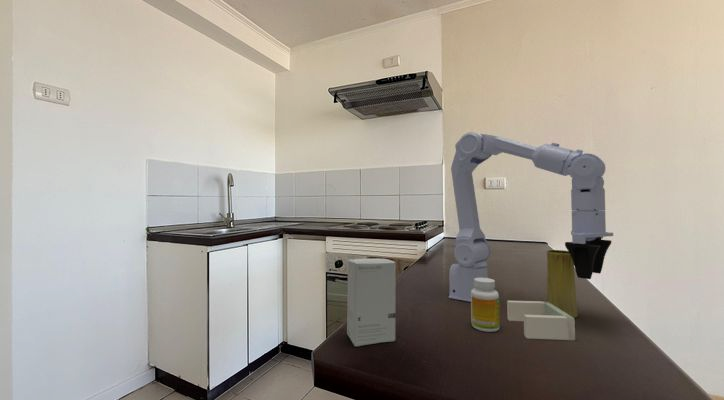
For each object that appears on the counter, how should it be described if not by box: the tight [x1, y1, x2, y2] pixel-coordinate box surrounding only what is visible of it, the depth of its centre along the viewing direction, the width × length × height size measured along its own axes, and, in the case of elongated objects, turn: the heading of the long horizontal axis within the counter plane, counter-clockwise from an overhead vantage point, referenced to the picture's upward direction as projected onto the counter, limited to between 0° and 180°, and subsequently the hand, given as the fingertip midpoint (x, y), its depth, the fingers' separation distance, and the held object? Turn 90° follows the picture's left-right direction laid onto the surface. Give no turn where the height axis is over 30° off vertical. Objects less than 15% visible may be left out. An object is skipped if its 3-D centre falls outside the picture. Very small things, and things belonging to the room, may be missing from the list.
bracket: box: [506, 300, 576, 341], centre depth 60 cm, size 8×10×4 cm
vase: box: [546, 249, 579, 319], centre depth 69 cm, size 6×6×14 cm
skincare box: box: [346, 257, 397, 348], centre depth 57 cm, size 8×6×15 cm
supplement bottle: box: [470, 277, 501, 333], centre depth 62 cm, size 5×5×10 cm
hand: (589, 275), depth 63 cm, fingers open, 7 cm apart
